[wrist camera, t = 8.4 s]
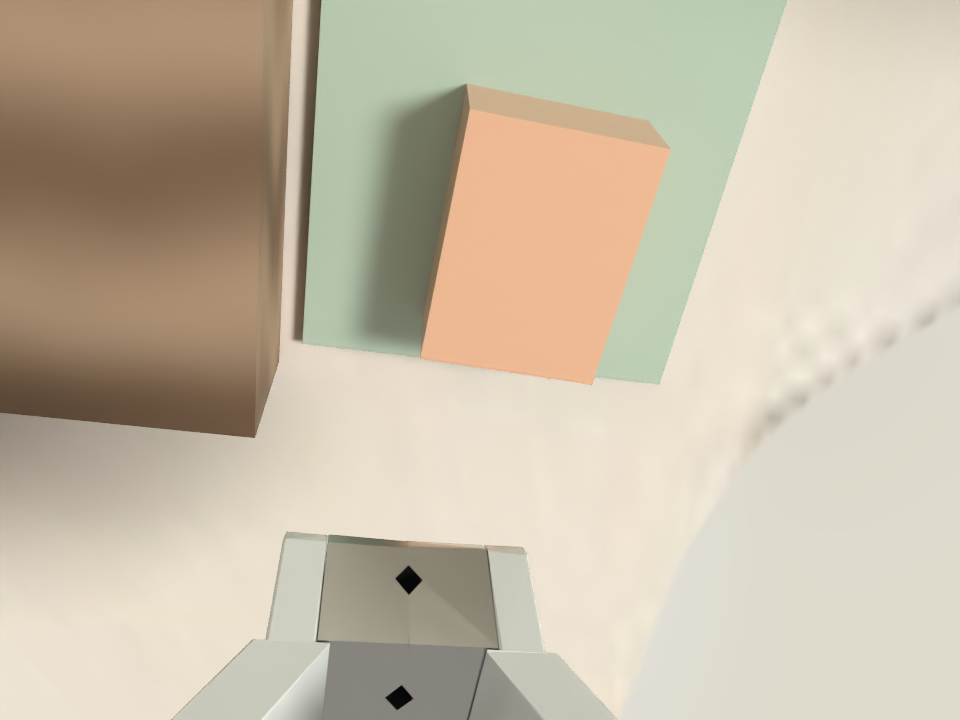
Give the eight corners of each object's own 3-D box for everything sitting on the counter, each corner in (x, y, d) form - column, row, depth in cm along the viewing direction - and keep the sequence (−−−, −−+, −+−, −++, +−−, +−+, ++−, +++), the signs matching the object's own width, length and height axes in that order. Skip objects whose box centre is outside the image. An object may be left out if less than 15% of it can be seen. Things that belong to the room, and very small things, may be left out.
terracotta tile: (420, 358, 23) (421, 315, 25) (592, 385, 23) (579, 340, 25) (470, 109, 19) (466, 83, 21) (670, 149, 20) (648, 120, 22)
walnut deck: (278, 361, 26) (254, 438, 22) (13, 331, 25) (-54, 407, 21) (298, -152, 19) (267, -154, 15) (-75, -223, 18) (-197, -241, 14)
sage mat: (656, 377, 27) (659, 384, 26) (304, 337, 25) (302, 343, 25) (814, -104, 20) (821, -103, 19) (334, -198, 18) (332, -199, 18)
